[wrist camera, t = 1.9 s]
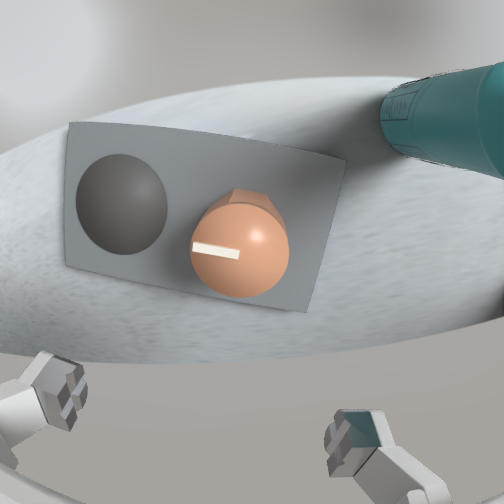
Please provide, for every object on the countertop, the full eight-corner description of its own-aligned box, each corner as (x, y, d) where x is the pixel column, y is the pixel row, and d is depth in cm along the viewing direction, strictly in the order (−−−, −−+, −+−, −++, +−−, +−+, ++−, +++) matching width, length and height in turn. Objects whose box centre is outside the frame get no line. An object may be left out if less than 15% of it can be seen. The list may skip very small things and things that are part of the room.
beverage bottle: (399, 170, 26) (575, 251, 7) (355, 110, 24) (528, 92, 6) (445, 130, 24) (625, 164, 6) (405, 71, 22) (582, 29, 4)
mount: (341, 158, 26) (361, 166, 20) (304, 302, 31) (311, 338, 25) (80, 121, 25) (43, 123, 19) (75, 257, 30) (45, 282, 24)
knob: (290, 196, 25) (299, 216, 19) (274, 269, 27) (277, 306, 22) (211, 181, 25) (195, 197, 19) (200, 255, 27) (185, 289, 21)
